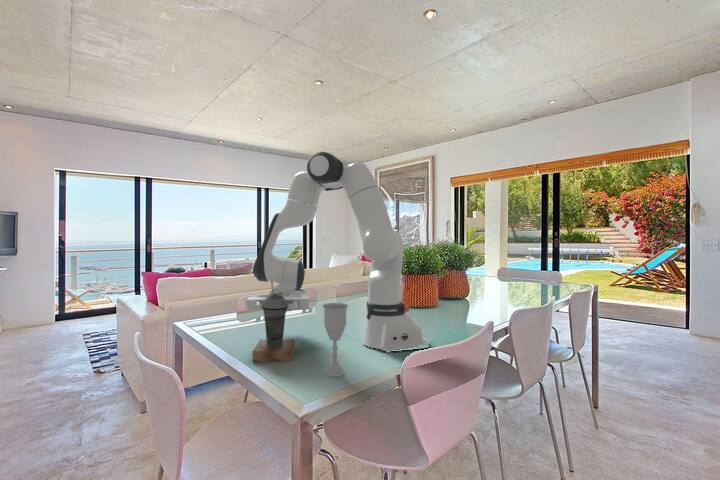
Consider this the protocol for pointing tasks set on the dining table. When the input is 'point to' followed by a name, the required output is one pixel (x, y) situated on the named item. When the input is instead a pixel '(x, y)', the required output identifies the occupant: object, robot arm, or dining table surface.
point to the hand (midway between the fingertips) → (275, 307)
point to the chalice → (335, 332)
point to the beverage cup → (274, 318)
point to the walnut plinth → (274, 351)
